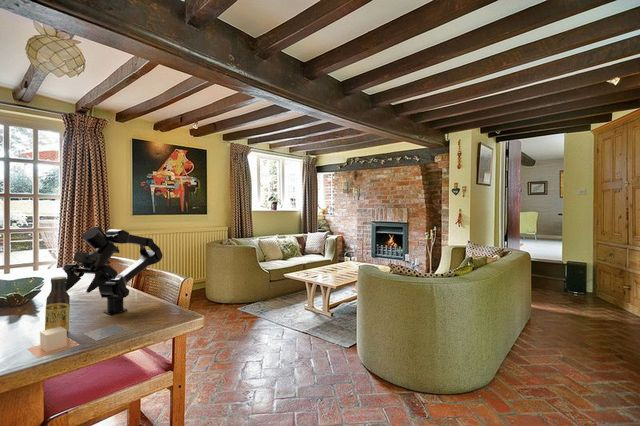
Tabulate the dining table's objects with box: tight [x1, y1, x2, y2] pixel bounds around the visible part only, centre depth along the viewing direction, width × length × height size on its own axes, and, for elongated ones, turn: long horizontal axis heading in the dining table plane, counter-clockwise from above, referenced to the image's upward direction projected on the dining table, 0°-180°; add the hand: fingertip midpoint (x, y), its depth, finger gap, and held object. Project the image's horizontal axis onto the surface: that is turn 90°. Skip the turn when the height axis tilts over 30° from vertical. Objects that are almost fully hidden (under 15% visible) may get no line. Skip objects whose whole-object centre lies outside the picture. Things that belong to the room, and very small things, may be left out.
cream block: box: [39, 326, 68, 352], centre depth 95 cm, size 5×5×5 cm
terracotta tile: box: [26, 336, 81, 359], centre depth 95 cm, size 10×10×1 cm
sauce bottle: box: [44, 276, 71, 335], centre depth 104 cm, size 6×6×20 cm
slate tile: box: [82, 323, 130, 342], centre depth 106 cm, size 10×10×1 cm
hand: (76, 291), depth 110 cm, fingers open, 9 cm apart
